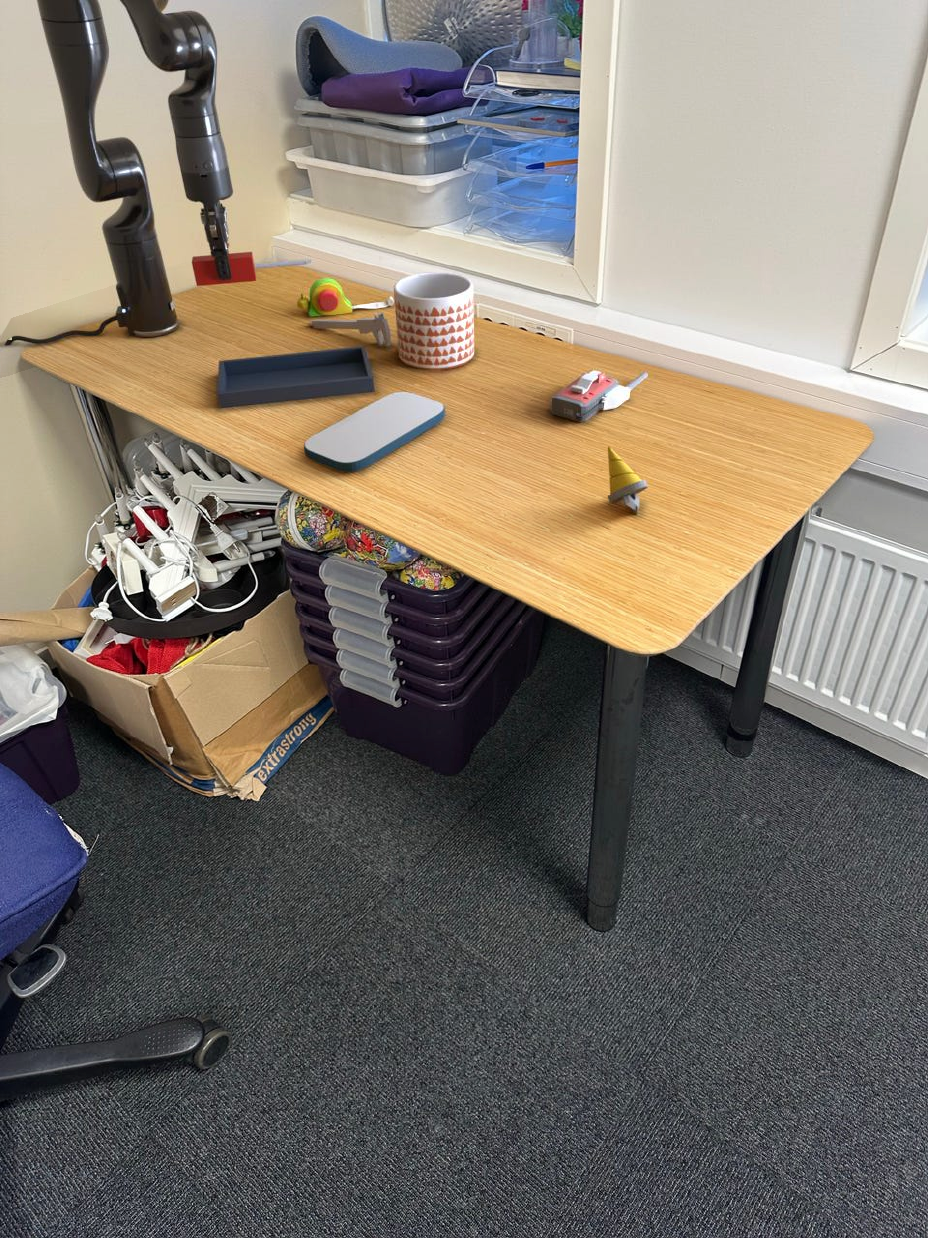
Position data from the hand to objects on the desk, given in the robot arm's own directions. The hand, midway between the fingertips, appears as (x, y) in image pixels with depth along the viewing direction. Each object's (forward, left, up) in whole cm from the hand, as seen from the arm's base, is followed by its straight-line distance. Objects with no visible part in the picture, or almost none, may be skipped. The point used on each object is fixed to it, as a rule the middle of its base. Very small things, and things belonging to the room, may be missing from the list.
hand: (225, 275), depth 149 cm
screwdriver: (+5, 0, -1) cm, 5 cm away
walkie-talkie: (+58, -31, -15) cm, 67 cm away
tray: (+9, -13, -15) cm, 22 cm away
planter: (+35, -7, -15) cm, 39 cm away
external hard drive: (+21, -35, -15) cm, 44 cm away
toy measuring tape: (+21, +20, -15) cm, 32 cm away
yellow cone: (+51, -62, -15) cm, 82 cm away
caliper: (+20, +6, -15) cm, 26 cm away
